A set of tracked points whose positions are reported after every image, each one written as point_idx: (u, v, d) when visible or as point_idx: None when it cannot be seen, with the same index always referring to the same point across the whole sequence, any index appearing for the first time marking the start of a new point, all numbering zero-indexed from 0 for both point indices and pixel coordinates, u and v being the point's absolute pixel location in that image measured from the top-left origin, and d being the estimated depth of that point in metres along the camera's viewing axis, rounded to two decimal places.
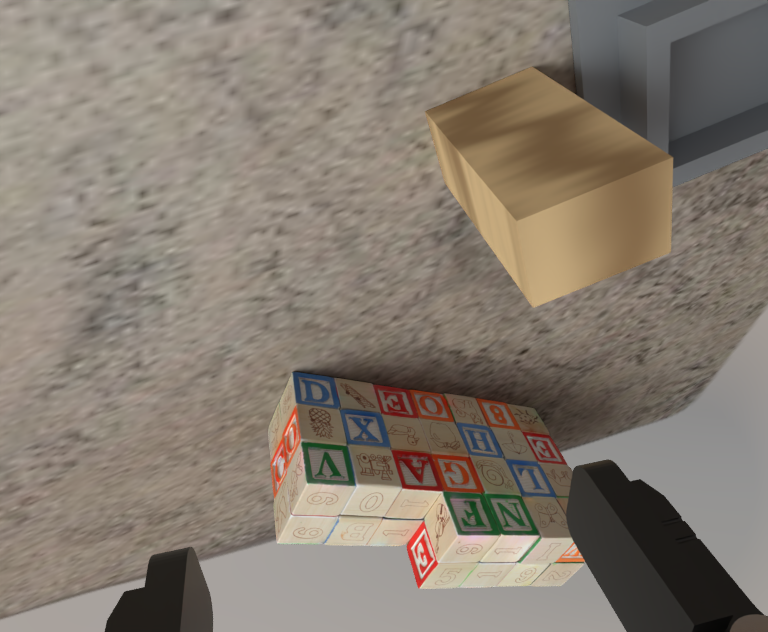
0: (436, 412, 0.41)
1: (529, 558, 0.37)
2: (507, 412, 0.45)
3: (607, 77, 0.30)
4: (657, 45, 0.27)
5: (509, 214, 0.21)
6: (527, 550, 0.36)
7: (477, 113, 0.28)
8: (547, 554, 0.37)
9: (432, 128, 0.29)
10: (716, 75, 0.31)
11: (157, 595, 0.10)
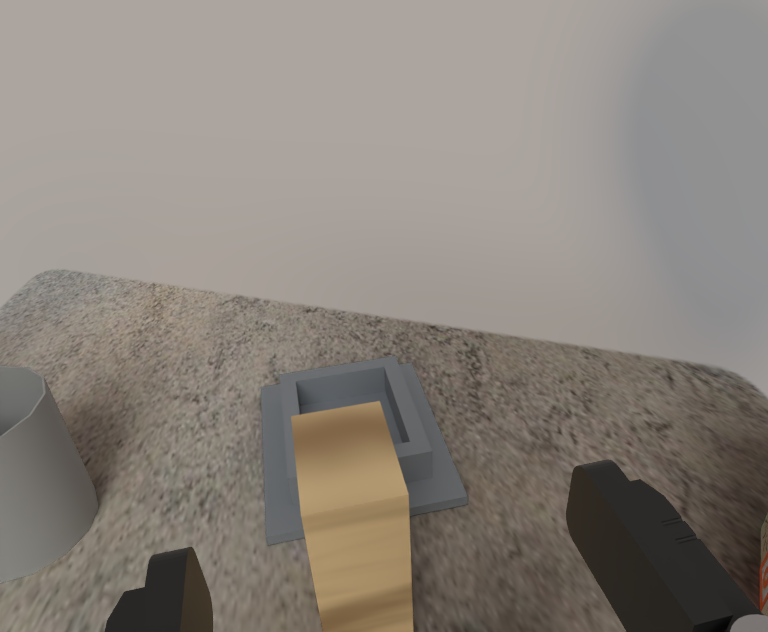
0: None
1: None
2: (766, 560, 0.32)
3: None
4: None
5: (305, 526, 0.23)
6: None
7: None
8: None
9: None
10: None
11: (157, 595, 0.10)
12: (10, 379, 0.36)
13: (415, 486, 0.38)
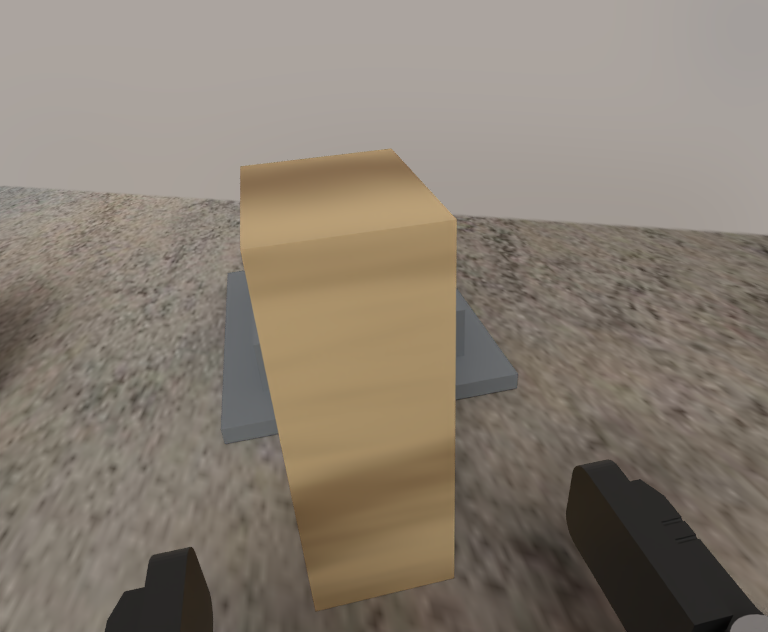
0: None
1: None
2: None
3: None
4: None
5: (252, 281, 0.11)
6: None
7: None
8: None
9: (335, 591, 0.17)
10: None
11: (157, 595, 0.10)
12: None
13: None
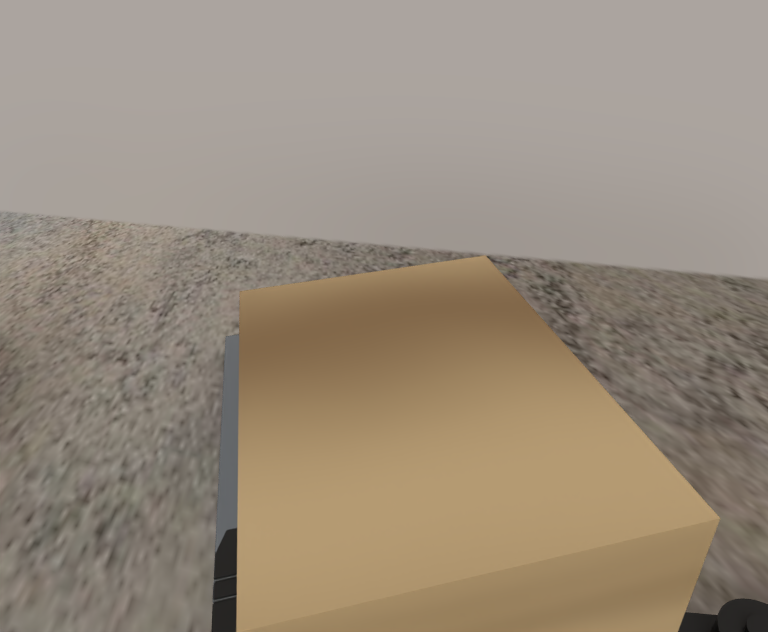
0: None
1: None
2: None
3: None
4: None
5: None
6: None
7: None
8: None
9: None
10: None
11: None
12: None
13: None
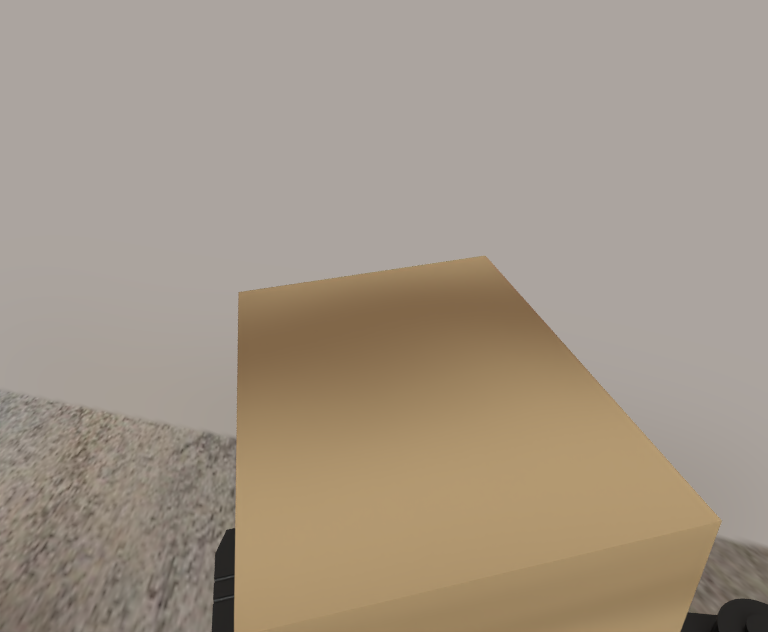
0: None
1: None
2: None
3: None
4: None
5: None
6: None
7: None
8: None
9: None
10: None
11: None
12: None
13: None
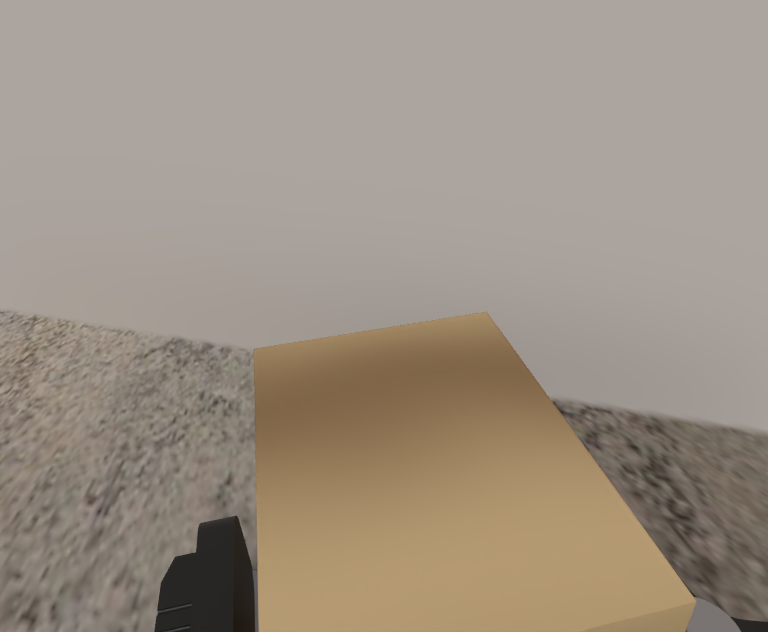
0: None
1: None
2: None
3: None
4: None
5: None
6: None
7: None
8: None
9: None
10: None
11: (209, 558, 0.10)
12: None
13: None
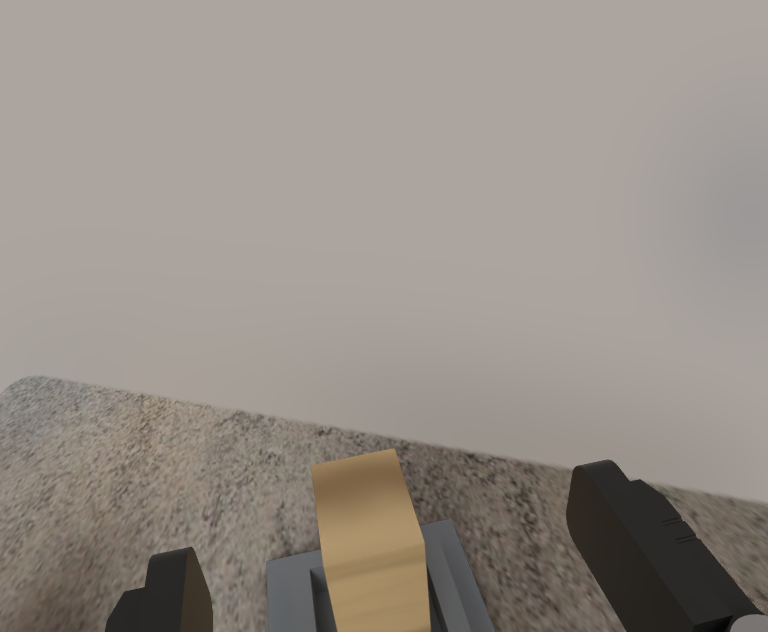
0: None
1: None
2: None
3: None
4: None
5: (328, 576, 0.24)
6: None
7: None
8: None
9: None
10: None
11: (157, 595, 0.10)
12: None
13: None
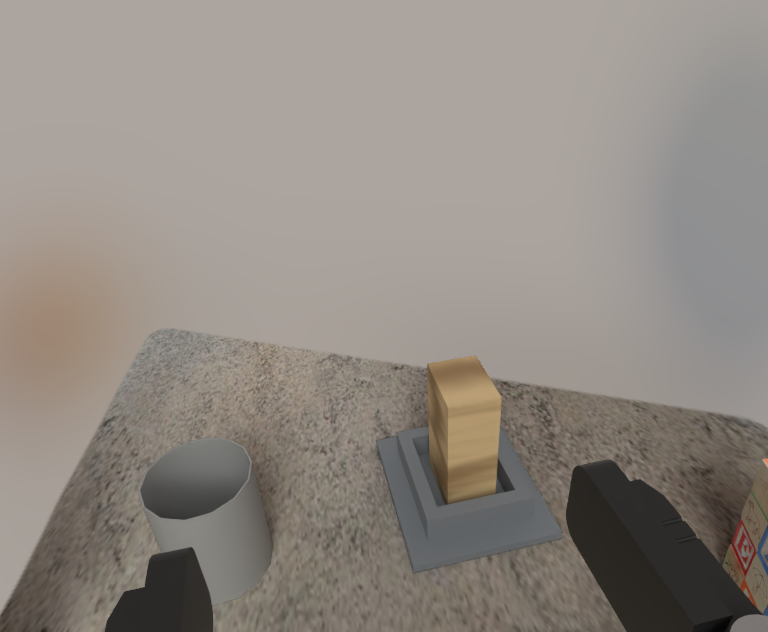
0: None
1: None
2: None
3: (463, 540, 0.48)
4: (437, 513, 0.47)
5: (449, 414, 0.44)
6: None
7: (441, 474, 0.50)
8: None
9: None
10: None
11: (157, 595, 0.10)
12: (211, 447, 0.47)
13: (520, 524, 0.49)
